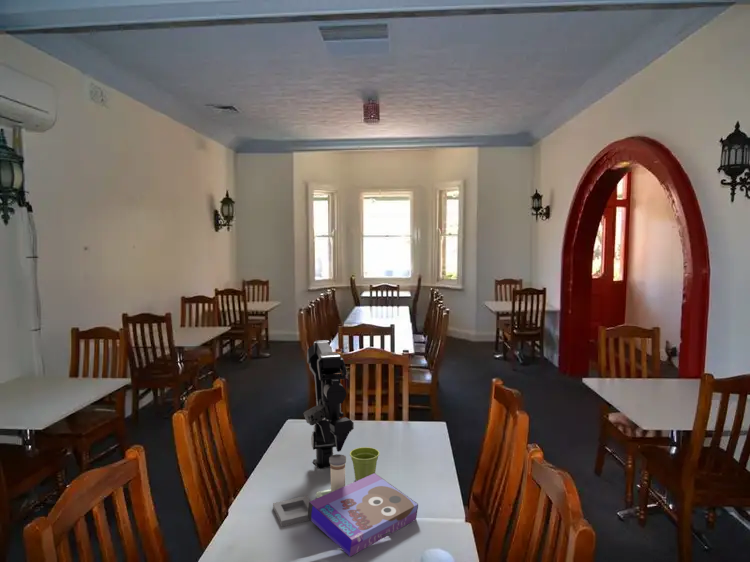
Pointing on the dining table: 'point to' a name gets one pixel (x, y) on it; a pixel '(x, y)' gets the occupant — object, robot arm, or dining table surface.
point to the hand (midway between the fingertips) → (332, 446)
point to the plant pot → (364, 461)
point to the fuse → (337, 471)
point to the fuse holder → (292, 510)
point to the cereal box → (362, 513)
